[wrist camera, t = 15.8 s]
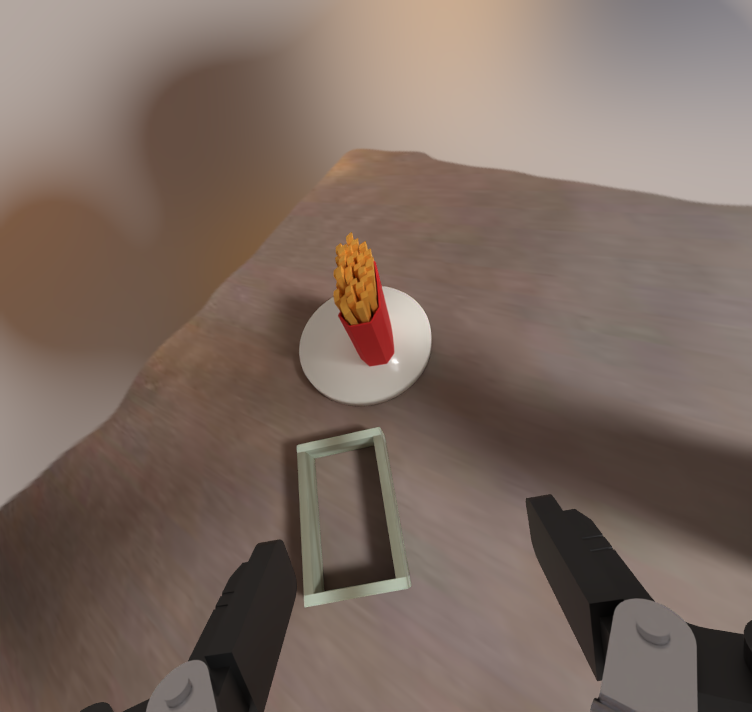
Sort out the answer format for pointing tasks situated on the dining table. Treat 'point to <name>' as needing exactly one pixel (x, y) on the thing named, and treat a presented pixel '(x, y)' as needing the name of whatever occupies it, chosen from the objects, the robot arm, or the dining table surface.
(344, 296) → the french fries
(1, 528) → the dining table surface
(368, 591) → the open rectangular box
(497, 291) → the dining table surface
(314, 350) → the ceramic plate
